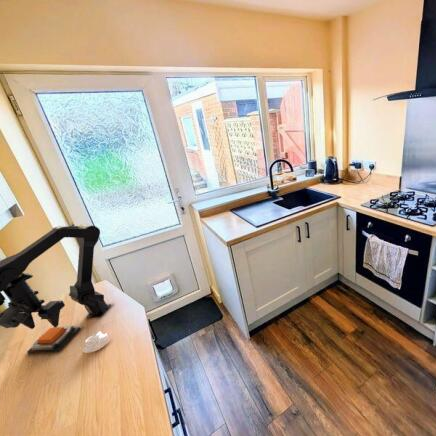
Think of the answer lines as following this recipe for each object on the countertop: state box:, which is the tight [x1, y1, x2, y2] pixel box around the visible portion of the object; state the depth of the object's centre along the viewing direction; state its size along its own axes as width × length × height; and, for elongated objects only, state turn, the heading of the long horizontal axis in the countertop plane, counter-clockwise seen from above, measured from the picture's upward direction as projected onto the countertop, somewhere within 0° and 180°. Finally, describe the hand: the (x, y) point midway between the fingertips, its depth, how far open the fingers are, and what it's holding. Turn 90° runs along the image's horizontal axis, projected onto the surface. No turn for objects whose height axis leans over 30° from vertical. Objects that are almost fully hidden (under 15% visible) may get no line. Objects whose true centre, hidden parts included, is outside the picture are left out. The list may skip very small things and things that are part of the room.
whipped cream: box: [82, 331, 110, 354], centre depth 89 cm, size 8×7×5 cm
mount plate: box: [26, 325, 81, 355], centre depth 93 cm, size 12×10×2 cm
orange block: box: [36, 326, 66, 344], centre depth 93 cm, size 6×6×3 cm
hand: (45, 327), depth 90 cm, fingers open, 9 cm apart
